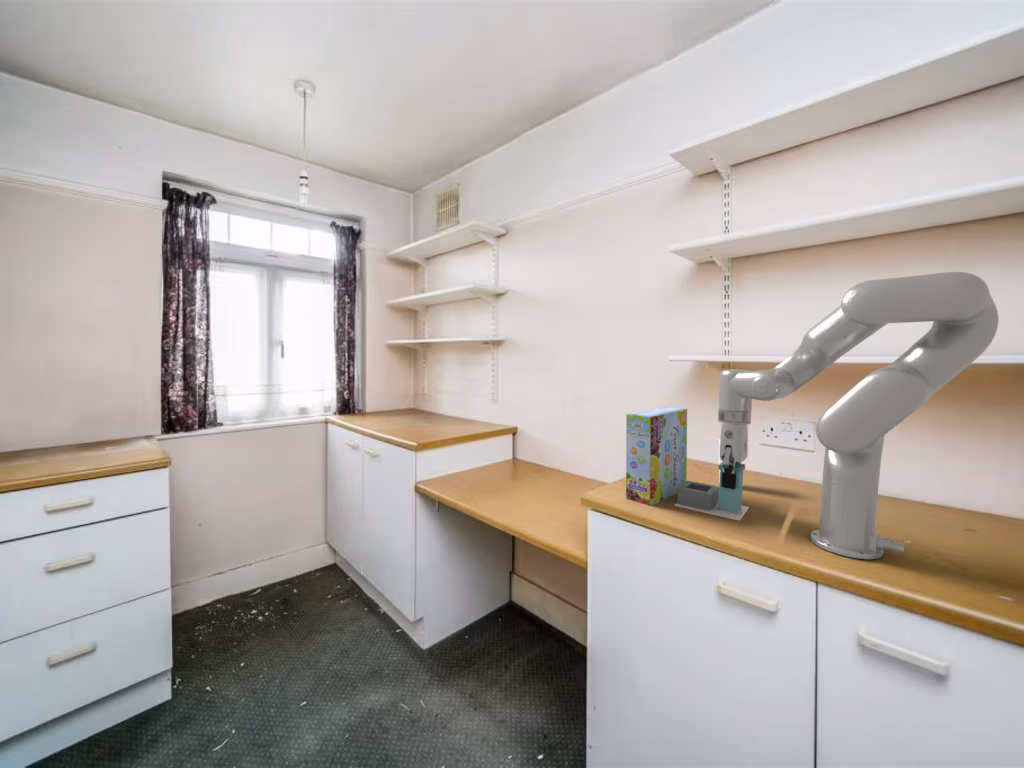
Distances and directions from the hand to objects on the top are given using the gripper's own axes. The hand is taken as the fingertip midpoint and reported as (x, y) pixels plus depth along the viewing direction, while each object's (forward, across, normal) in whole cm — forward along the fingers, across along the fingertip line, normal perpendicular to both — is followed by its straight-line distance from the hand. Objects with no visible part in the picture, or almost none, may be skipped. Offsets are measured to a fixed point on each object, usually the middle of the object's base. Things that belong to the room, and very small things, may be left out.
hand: (731, 484), depth 110 cm
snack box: (+8, 0, +20) cm, 22 cm away
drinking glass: (+8, +26, +6) cm, 28 cm away
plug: (+7, 0, 0) cm, 7 cm away
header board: (+8, 0, +4) cm, 9 cm away
